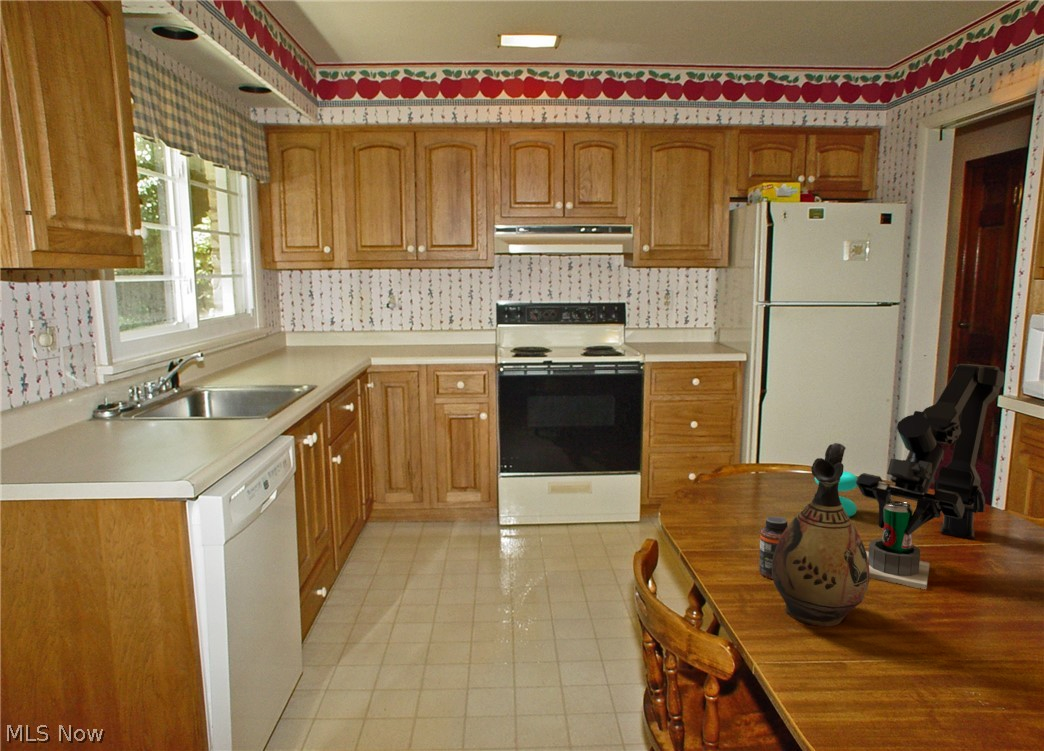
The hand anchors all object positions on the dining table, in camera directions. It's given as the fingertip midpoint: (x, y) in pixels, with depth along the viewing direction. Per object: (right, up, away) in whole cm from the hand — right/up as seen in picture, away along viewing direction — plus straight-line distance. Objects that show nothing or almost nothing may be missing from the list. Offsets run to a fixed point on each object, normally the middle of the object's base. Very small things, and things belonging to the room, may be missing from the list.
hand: (893, 530), depth 132 cm
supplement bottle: (-23, -9, +1) cm, 25 cm away
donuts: (+5, -4, +37) cm, 37 cm away
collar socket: (+1, -9, +2) cm, 9 cm away
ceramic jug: (-21, -11, -15) cm, 28 cm away
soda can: (+1, -7, +1) cm, 7 cm away
